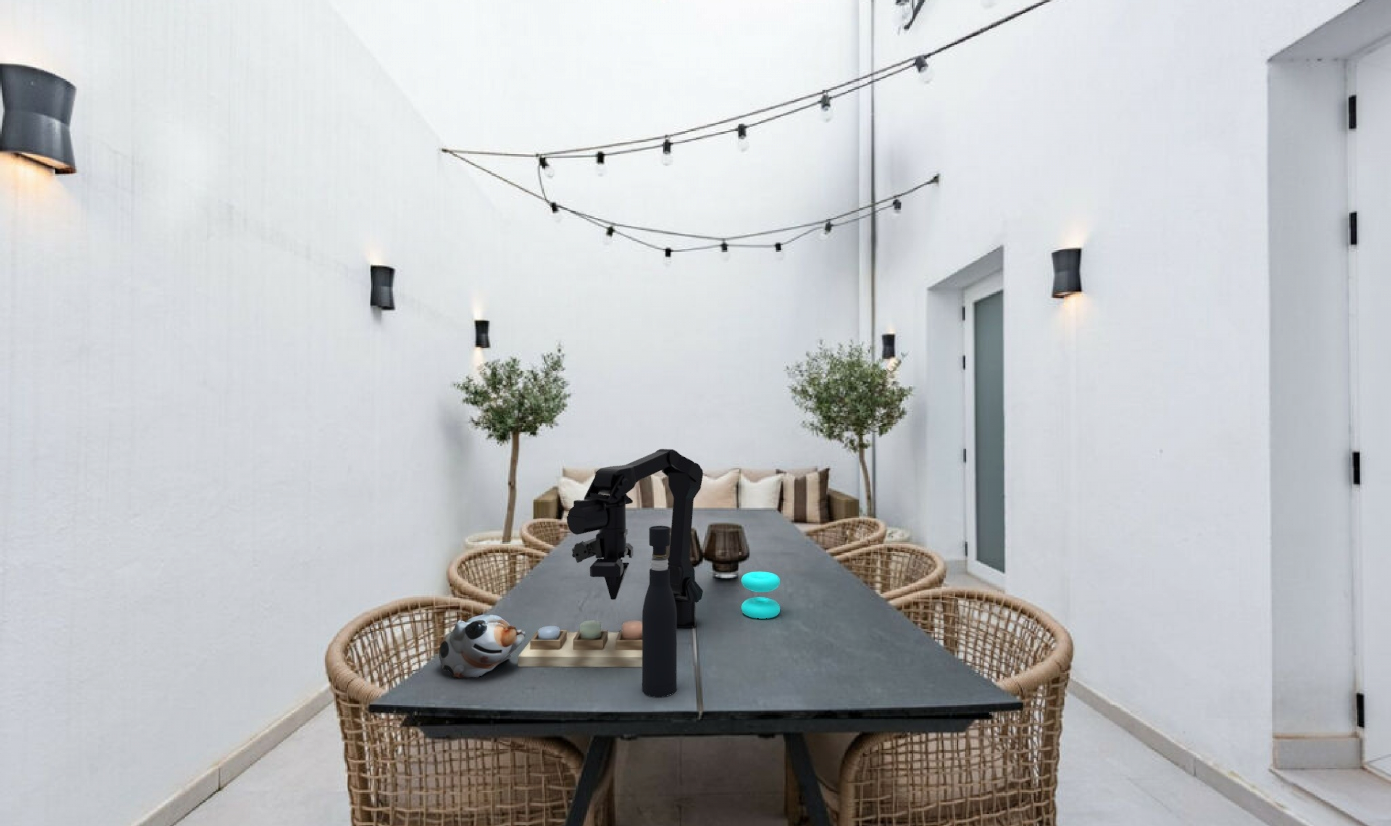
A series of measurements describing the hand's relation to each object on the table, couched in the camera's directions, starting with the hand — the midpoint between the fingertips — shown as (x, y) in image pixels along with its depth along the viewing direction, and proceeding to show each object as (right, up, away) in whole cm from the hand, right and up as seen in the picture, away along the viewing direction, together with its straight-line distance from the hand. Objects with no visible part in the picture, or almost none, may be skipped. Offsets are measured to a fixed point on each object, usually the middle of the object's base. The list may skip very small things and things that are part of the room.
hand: (613, 599), depth 129 cm
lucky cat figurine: (-25, -12, -8) cm, 29 cm away
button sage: (-5, -8, 0) cm, 9 cm away
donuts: (+34, -12, +26) cm, 45 cm away
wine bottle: (+11, -12, -18) cm, 24 cm away
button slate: (-14, -9, 0) cm, 17 cm away
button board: (-5, -12, 0) cm, 13 cm away
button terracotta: (+4, -8, 0) cm, 9 cm away
